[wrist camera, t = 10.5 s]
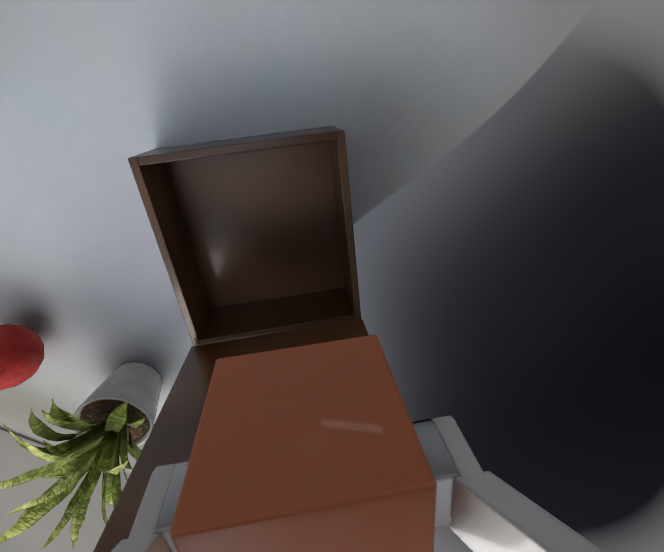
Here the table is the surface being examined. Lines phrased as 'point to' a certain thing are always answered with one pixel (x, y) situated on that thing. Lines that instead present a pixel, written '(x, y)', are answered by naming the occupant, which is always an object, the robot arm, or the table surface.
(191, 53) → the table surface
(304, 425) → the block
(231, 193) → the chest
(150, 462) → the lid
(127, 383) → the house plant
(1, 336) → the onion
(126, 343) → the table surface
